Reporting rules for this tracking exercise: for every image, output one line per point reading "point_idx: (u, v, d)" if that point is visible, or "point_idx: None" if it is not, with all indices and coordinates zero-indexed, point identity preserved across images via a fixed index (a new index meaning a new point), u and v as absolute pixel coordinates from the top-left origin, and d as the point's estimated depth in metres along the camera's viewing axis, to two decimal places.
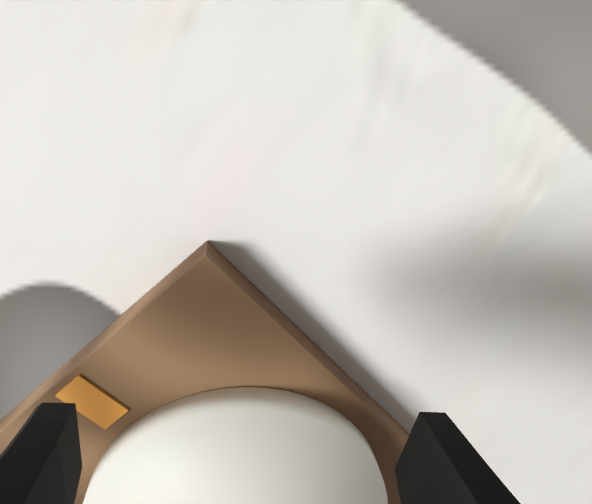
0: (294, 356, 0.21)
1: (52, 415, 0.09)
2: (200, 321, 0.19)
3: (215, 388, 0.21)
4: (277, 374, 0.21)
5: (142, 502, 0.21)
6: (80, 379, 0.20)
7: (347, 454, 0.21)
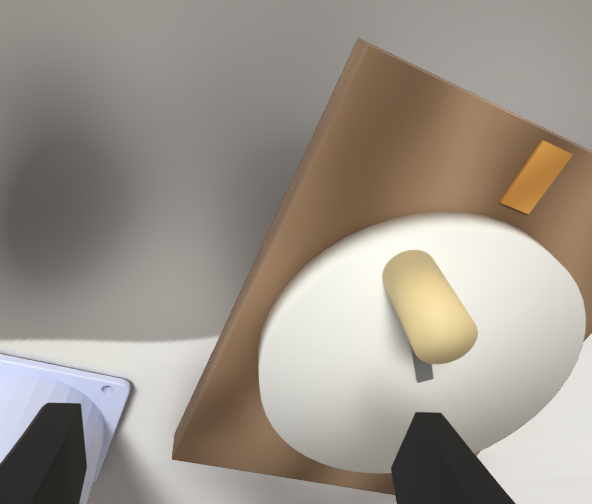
0: None
1: (58, 415, 0.09)
2: None
3: None
4: None
5: (454, 282, 0.18)
6: (563, 156, 0.18)
7: (535, 402, 0.23)
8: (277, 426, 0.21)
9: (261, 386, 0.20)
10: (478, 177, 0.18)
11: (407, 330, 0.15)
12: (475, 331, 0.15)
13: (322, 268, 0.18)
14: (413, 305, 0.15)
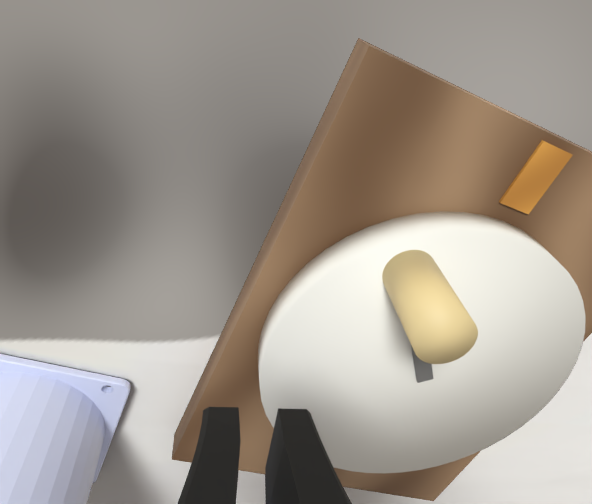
0: None
1: (224, 419, 0.09)
2: None
3: None
4: None
5: (454, 282, 0.18)
6: (563, 156, 0.18)
7: (535, 402, 0.23)
8: None
9: (261, 386, 0.20)
10: (478, 177, 0.18)
11: (407, 330, 0.15)
12: (475, 331, 0.15)
13: (322, 268, 0.18)
14: (413, 305, 0.15)
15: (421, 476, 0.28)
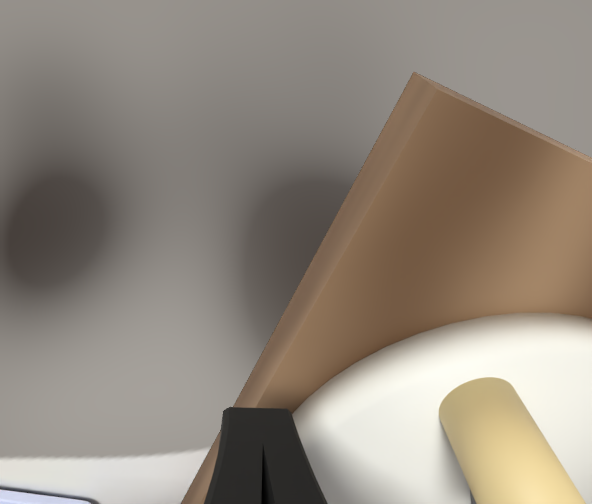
0: None
1: (245, 419, 0.09)
2: None
3: None
4: None
5: (539, 414, 0.13)
6: None
7: None
8: None
9: None
10: (578, 268, 0.12)
11: None
12: None
13: (352, 396, 0.13)
14: (501, 491, 0.10)
15: None
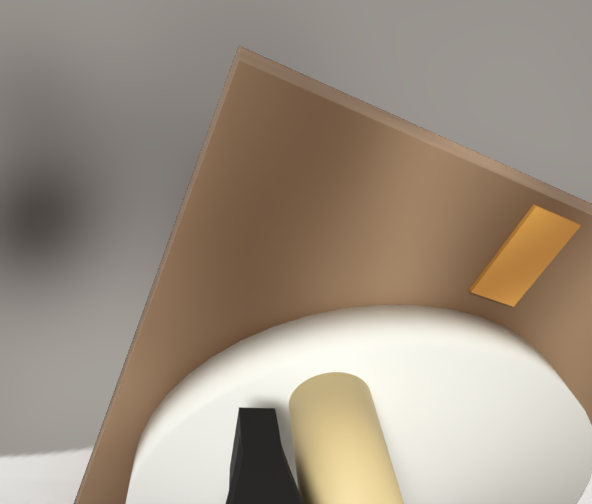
0: None
1: (263, 419, 0.09)
2: None
3: None
4: None
5: (401, 411, 0.12)
6: (566, 227, 0.12)
7: None
8: None
9: None
10: (437, 257, 0.12)
11: None
12: None
13: (200, 391, 0.12)
14: (314, 494, 0.09)
15: None
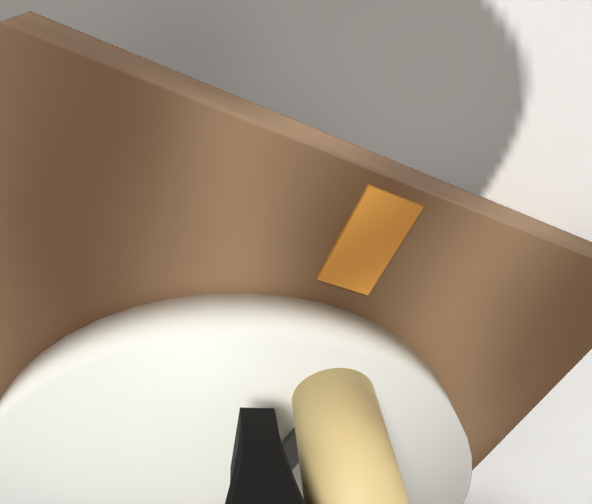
0: (504, 420, 0.15)
1: (262, 419, 0.09)
2: (548, 315, 0.13)
3: (434, 371, 0.14)
4: (472, 417, 0.15)
5: None
6: (410, 209, 0.11)
7: None
8: None
9: None
10: (273, 242, 0.11)
11: None
12: None
13: (234, 319, 0.11)
14: (352, 475, 0.09)
15: None
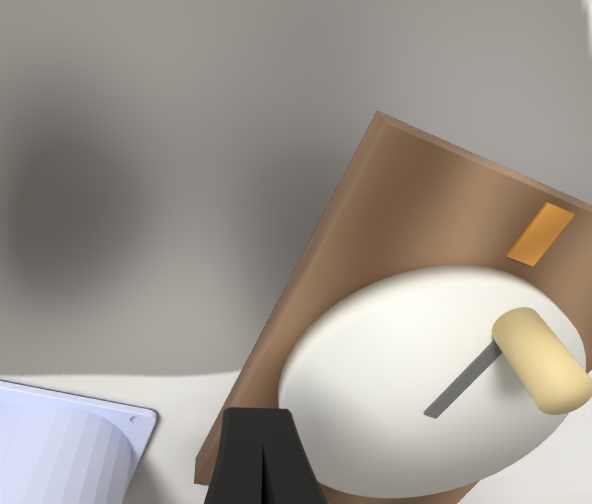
0: None
1: (246, 419, 0.09)
2: None
3: None
4: None
5: None
6: (566, 215, 0.19)
7: (460, 480, 0.26)
8: (295, 383, 0.20)
9: (329, 339, 0.19)
10: (487, 234, 0.19)
11: (542, 371, 0.17)
12: (584, 402, 0.17)
13: (468, 278, 0.19)
14: (555, 355, 0.17)
15: (428, 498, 0.29)
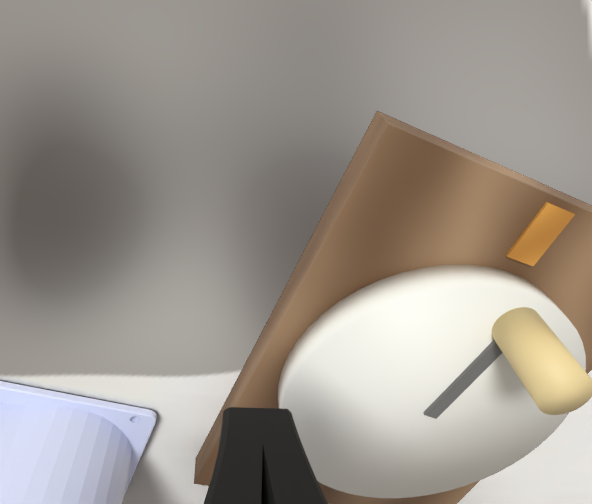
0: None
1: (246, 419, 0.09)
2: None
3: None
4: None
5: None
6: (566, 215, 0.19)
7: (460, 480, 0.26)
8: (295, 383, 0.20)
9: (329, 339, 0.19)
10: (487, 234, 0.19)
11: (542, 371, 0.17)
12: (584, 402, 0.17)
13: (468, 278, 0.19)
14: (555, 355, 0.17)
15: (428, 498, 0.29)
